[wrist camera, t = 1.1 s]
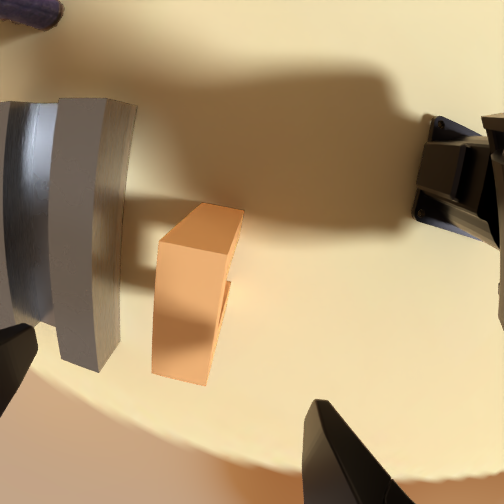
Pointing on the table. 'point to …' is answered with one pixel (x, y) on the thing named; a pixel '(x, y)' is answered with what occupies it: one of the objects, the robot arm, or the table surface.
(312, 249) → the table surface
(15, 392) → the robot arm
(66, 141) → the rail
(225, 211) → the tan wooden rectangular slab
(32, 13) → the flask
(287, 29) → the table surface
